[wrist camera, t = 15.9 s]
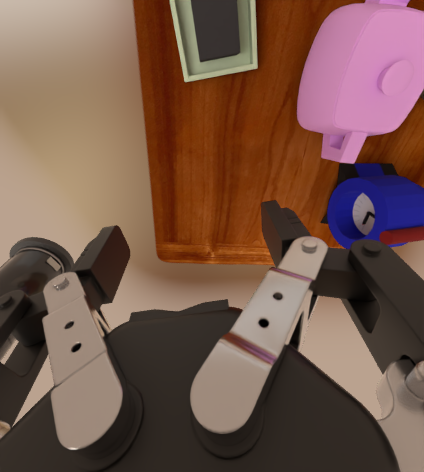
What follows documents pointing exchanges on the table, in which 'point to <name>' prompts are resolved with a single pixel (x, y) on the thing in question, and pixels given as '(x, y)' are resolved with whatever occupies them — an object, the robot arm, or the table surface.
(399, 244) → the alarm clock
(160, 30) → the table surface
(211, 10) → the black rectangular block
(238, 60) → the pale green tray
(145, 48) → the table surface
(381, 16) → the teapot
